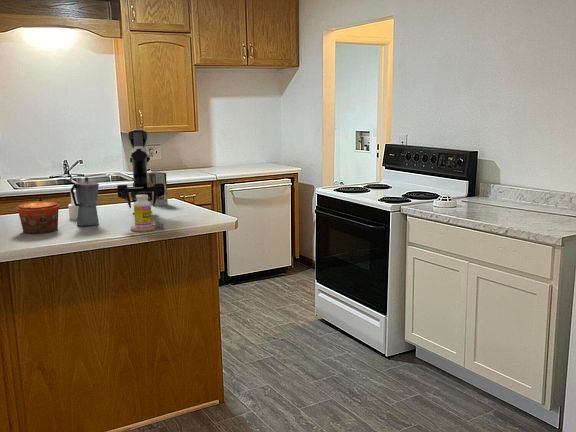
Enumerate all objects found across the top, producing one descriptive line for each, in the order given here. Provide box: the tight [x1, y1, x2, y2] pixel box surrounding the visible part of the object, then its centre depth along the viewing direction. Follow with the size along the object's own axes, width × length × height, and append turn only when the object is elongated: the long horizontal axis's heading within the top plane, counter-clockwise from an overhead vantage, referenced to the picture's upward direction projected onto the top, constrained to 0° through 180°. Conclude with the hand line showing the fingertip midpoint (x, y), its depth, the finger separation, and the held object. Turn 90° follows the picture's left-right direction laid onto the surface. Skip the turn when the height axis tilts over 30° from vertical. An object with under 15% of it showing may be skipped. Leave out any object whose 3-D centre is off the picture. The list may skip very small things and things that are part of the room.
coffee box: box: [147, 171, 169, 207], centre depth 283 cm, size 9×6×16 cm
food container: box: [15, 201, 61, 235], centre depth 226 cm, size 16×16×11 cm
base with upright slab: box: [68, 189, 79, 220], centre depth 252 cm, size 9×9×12 cm
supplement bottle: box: [133, 194, 153, 228], centre depth 227 cm, size 7×7×13 cm
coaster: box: [130, 223, 157, 233], centre depth 228 cm, size 10×10×1 cm
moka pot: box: [70, 177, 100, 227], centre depth 235 cm, size 10×15×20 cm, turn 161°
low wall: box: [155, 218, 164, 231], centre depth 231 cm, size 10×1×2 cm, turn 26°
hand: (142, 207), depth 228 cm, fingers open, 9 cm apart
